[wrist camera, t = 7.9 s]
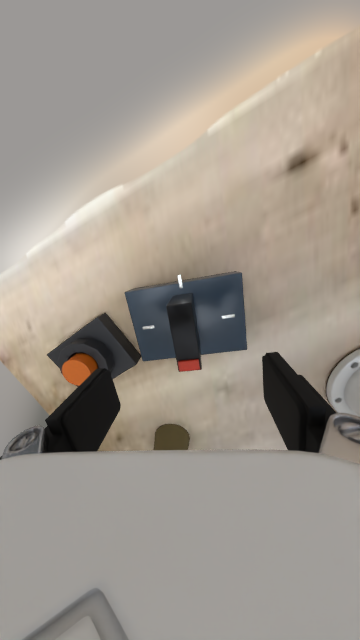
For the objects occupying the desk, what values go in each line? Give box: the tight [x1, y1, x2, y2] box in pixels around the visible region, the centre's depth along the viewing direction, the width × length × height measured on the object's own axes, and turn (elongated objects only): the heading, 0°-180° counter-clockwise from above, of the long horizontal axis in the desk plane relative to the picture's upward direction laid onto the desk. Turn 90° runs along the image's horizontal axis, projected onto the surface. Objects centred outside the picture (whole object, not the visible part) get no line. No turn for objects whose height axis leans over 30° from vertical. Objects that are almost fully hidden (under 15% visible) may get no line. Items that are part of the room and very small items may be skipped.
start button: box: [62, 353, 98, 386], centre depth 22 cm, size 4×4×2 cm
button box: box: [47, 313, 141, 387], centre depth 24 cm, size 10×8×4 cm
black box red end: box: [166, 293, 202, 372], centre depth 18 cm, size 6×2×5 cm, turn 9°
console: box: [125, 271, 247, 361], centre depth 22 cm, size 13×11×3 cm
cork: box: [154, 424, 190, 450], centre depth 25 cm, size 6×6×11 cm
